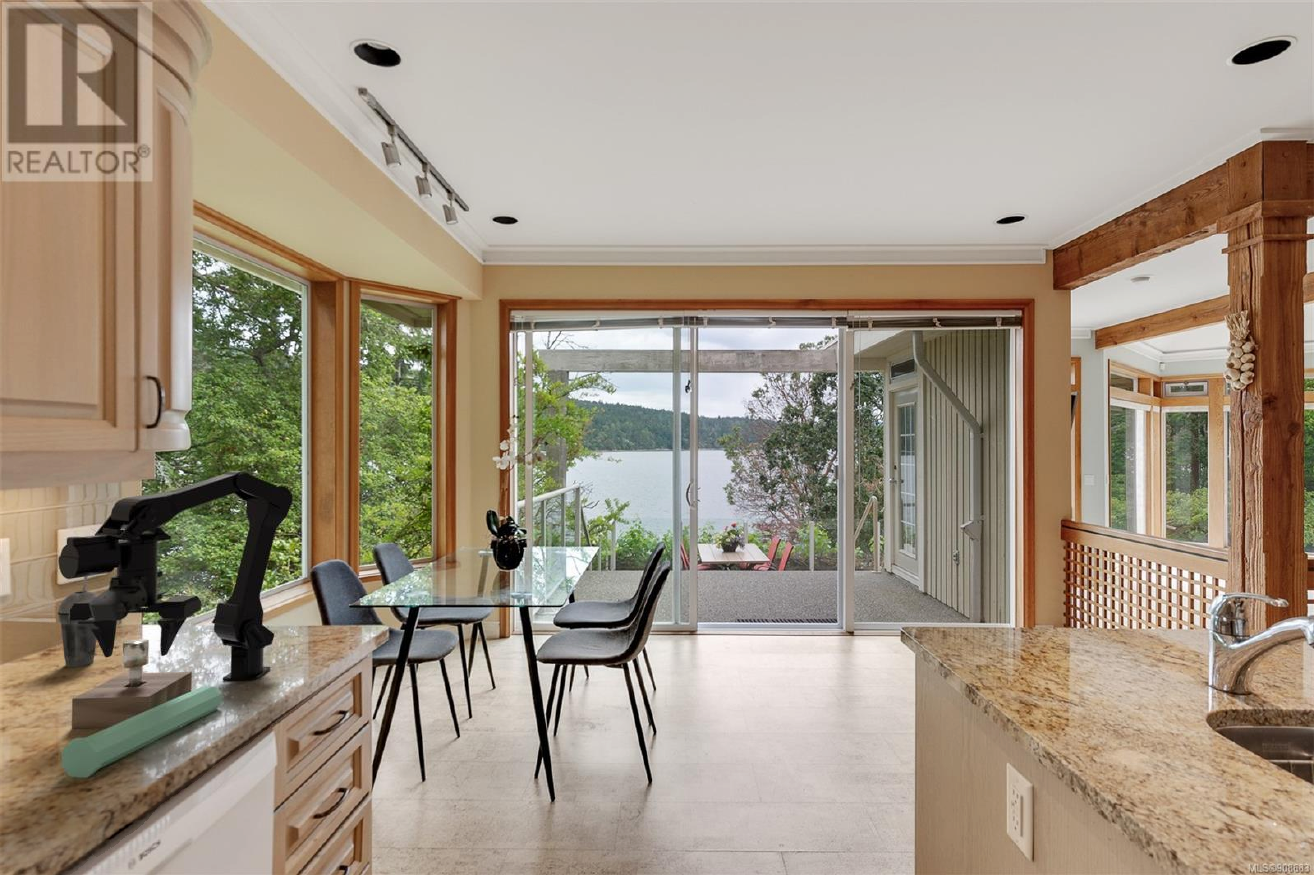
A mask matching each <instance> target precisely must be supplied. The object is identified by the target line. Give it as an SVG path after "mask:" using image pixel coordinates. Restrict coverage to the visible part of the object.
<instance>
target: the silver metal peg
mask: <svg viewBox="0 0 1314 875" xmlns="http://www.w3.org/2000/svg"><path fill="white" fill-rule="evenodd" d="M149 647H150V641H149V639H148V638H147V639H146V638H141V639H140V638H138V639H132V640H128V641H125V642H123V643H122V668H123V669H128V673H129V687H139V686H141V685H142V673H143V666H146V665H148V664H149V659H150V658H149V652H150V650H149V649H150V648H149Z"/></svg>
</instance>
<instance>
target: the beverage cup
mask: <svg viewBox="0 0 1314 875" xmlns="http://www.w3.org/2000/svg"><path fill="white" fill-rule="evenodd" d="M88 577H89V576H86V577H83V584H82V590H80V591H75V592H73V593H71V594H68V595H67V596H66V597H65V598H64V599H63V601H62V602H61V603H60V606H59V608H58V611H57V615H58V619H59V623H60V626H61V636H62V647H63V657H64V661H65V662H64V663H65V667H66V668H71V667H72V668H81V667H84V666H88V665H92V664H93V663H95V662H94V659H95V654H96V649H97V642H98V641H97V639H96V637H95V635H94V634H93V632H92V631H91V630H90V629H89V628H87V627H85V626H84V625H78V624H77V622H78V621H80V620H74V621H70V620H69V610H70V608H71V606H72V605H73V604H74V603H77V602H80V601H83V600H86V599H89V598H93V597H97V596H98V595H97V594H95V593H93V592H91V591H86V590H87V583H88Z"/></svg>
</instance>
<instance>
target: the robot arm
mask: <svg viewBox="0 0 1314 875" xmlns="http://www.w3.org/2000/svg"><path fill="white" fill-rule="evenodd" d="M232 494H233V495H234V496H236V497H237V498H238V499H240V500H242V501H243V502H246V509H245V510H246V512H245V513H246V516H247V519H248V523H249V529H248V533H247V535H246V540H245V544H244V548H243V552H242V555H241V559H240V563H239V567H238V571H237V575H236V578H235V583H234V587H233V591H232V594H231V596H230V597H229V598H228V599H227V600H226V601H225V603H223V602H218V603H217V605H216V610H215V615H214V617H213V620H211V624H213V632H214V633H215V635H216V636H217V637H218V638H220V640H221V643H222V645H223V646H225V647H226V646H228V647H230V672H229V673H228V674H226V675H224V676H223V677H222V680H223V681H239V680H240V681H244V680H245V681H246V680H249V681H250V680H257V679H258V678H261V676H263V675H264V674H266V673H267V672H268V671H270V670H271V666H264V649H265V648H266V647H268V646H271V645H273V641H274V638H275V633H274V632H272V630H270V629H269V628H267V627H266V626H265V625H264V624H263V622H264V609H263V608H264V607H263V605H262V602H261V592H262V588H263V583H264V580H265V577H266V572H267V569H268V568H267V567H268V563H269V561H270V556H271V552H272V548H273V545H274V544H273V543H274V539H275V537H276V531H277V529H278V527H279V526H280V525H281V524H282V523H283V522H284V520H285V519H286V518H287V517H288V514H289V512H290V509H291V507H292V505H293V501H294V500H293V499H294V495H293V494H292V492H291V490H290V489H289V488H288V487H286V486H284V485H275V484H273V483H271V482H269V481H266V480H264V479H261V478H258V477H255V475H252V474H250V473H248V472H247V471H243V470H242V471H239V470H231V471H230V470H229V471H227V472H224V473H223V474H221V475H218V476H215V477H211V478H207V479H205V480H202V481H198V482H196V483H193V484H188V485H186V486H183V487H180V488H176V489H174V490H169V491H167V492H163V493H162V492H160V493H152V494H141V495H137V496H129V497H125V498H121V499H119V500H117V501H116V502H115V503H114V506H113V507H112V509H111V513H110V514H109V516H108V518H107V519H106V520H105V521H104V522H103V524H102V525H101V526H100V528H99V529H98V530H97V531H95V533H94V535H89V536H68V537H67V538H66V545H64V546H63V548H61V551H60V555H59V556H58V563H57V564H58V569H59V571H60V573H61V576H62V577H63V578H65V579H67V580H72V579H79V578H84V577H86V576H88V577H91V576H98V575H103V574H110V573H111V572H113V571H114V569H116V576H112V577H110V580H109V587H108V589H106V590H104V591H102V592H101V593H100V594H99V595H97V597H93V598H89V599H86V600H83V601H80V602H77V603H74V604H73V605H72V606H71V608H70V610H69V620H70V621H74V620H80V621H78V622H77V624H78V625H84V626H85V627H87V628H89V629H90V630H91V631H92V632H93V634H94V635H95V637H96V639H97V641H96V642H97V643H98V646H99V647H100V650H101V652H102V653H103V655H104V656H103V657H104V658H110V657H112V656H113V652H114V648H115V642H116V641H115V640H116V632H117V631H116V630H117V623H118V621H121V620H123V619H126V617H128V615H129V614H141V613H142V614H146V613H147V614H148V613H149V614H150V613H158V616H160V617H161V619H158V620H156V622H157V624H158V625H159V627H160V656H161V657H164V656H166V655H168V653H169V651H170V649H171V647H172V645H173V643H174V641H175V639H176V638H177V635H178V633H179V631H180V630H181V628H182V626H183V624H185V622H186V620H187V619H188V618H190V617H192V616H194V614H195V613H198V612H199V611H201V610H202V600H201V599H200V598H199V597H198V595H176V596H174V597H171V598H168V599H165V600H164V601H159V600H162V598H163V592H158V578H161V577H162V576H163V570H158V557H159V556H158V550H159V548H158V543H159V542H163V541H170V540H172V536H171V535H170V534H168V533H166V532H165V531H164V530H163V529H162V527H161V526H163V525H165V524H166V523H169V522H170V521H172V520H173V519H174V518H175V517H176V516H177V515H179V514H181V513H182V512H184V511H187V510H191V509H194V508H196V507H199V506H201V505H204V504H207V503H209V502H210V503H211V502H212V501H216V500H218V499H221V498H225V497H228V496H230V495H232Z"/></svg>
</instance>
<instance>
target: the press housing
mask: <svg viewBox="0 0 1314 875" xmlns="http://www.w3.org/2000/svg"><path fill="white" fill-rule="evenodd" d="M192 678H193V673H192V671H174V672H173V671H168V672H167V671H164V672H142V685H141V686H139V687H129V672H128V673H121V674H119V675H117V676H115V677H113V678H111V679H109V680H107V681H105V682H103V683H101V684H99V685H97V686H95V687H93V688H91V689H89V690H87V691H85V692H83V693H80V694H79V695H76V696H74V697H72V698H71V700H72V701H71V729H73V730H74V729H92V728H94V729H98V728H99V729H100V728H109V727H111V726H113V725H116V724H118V723H120V722H122V721H125V720H127V719H129V718H132V717H134V716H136V715H138V714H141V713H143V712H145V711H148V710H150V709H152V708H154V707H157V706H159V705H161V704H164V703H166V702H168V701H170V700H173V699H175V698H177V697H179V696H182V695H184V694H186V693H189V692H191V691H193V690H192V688H193V687H192V686H193V685H192V683H193V680H192Z"/></svg>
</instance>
